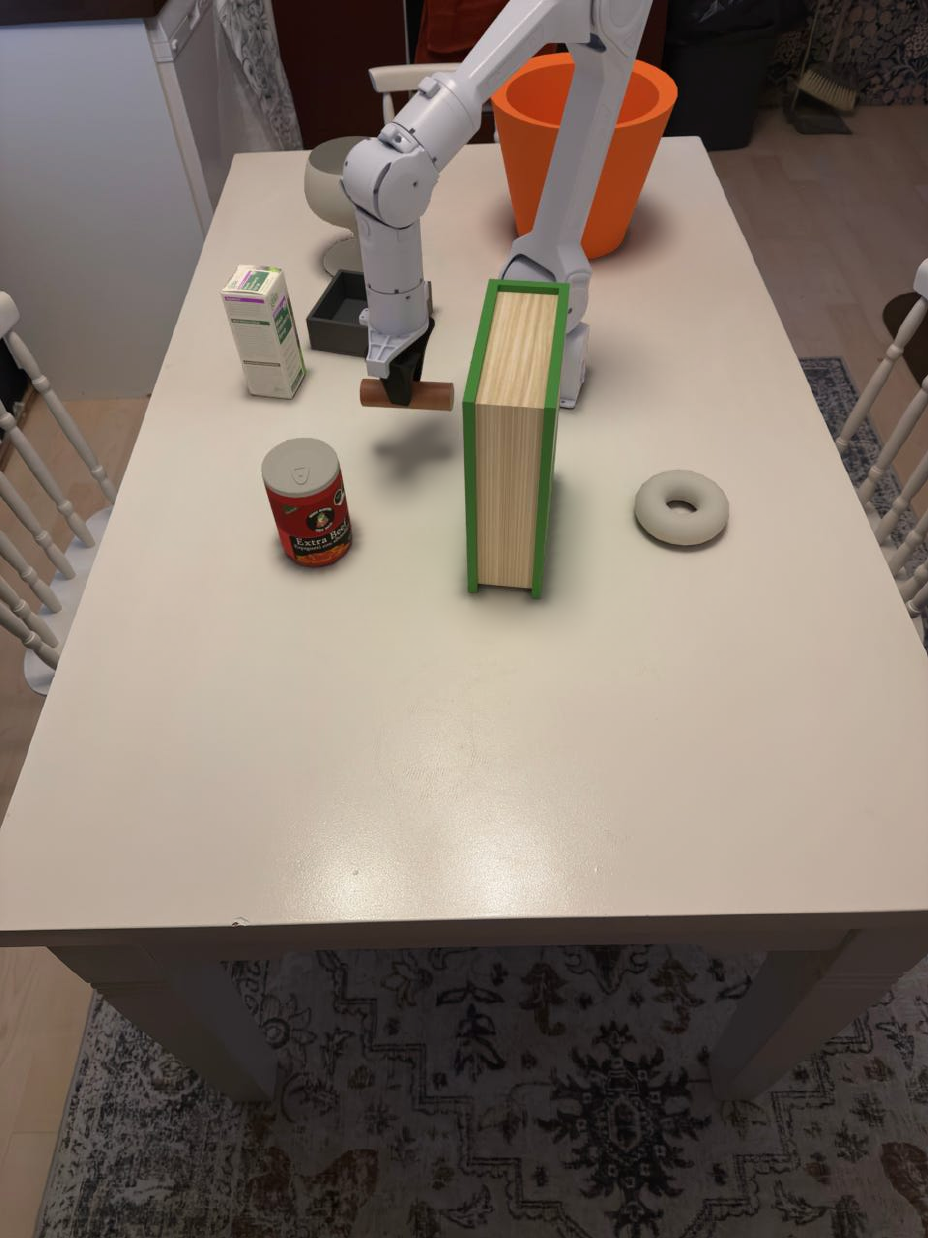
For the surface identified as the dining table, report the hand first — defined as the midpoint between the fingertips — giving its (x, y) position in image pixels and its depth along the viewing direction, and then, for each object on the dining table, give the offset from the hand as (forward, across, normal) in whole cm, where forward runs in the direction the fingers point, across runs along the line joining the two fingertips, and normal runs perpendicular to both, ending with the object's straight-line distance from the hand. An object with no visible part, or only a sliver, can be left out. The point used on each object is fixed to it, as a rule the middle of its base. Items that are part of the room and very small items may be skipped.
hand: (405, 392), depth 91 cm
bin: (+8, -22, -12) cm, 27 cm away
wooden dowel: (+1, +1, 0) cm, 2 cm away
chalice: (+9, -38, -19) cm, 43 cm away
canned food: (+8, +16, -6) cm, 19 cm away
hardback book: (+8, +10, +14) cm, 19 cm away
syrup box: (+8, -8, -20) cm, 23 cm away
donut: (+9, +3, +32) cm, 33 cm away
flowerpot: (+9, -53, +9) cm, 54 cm away
